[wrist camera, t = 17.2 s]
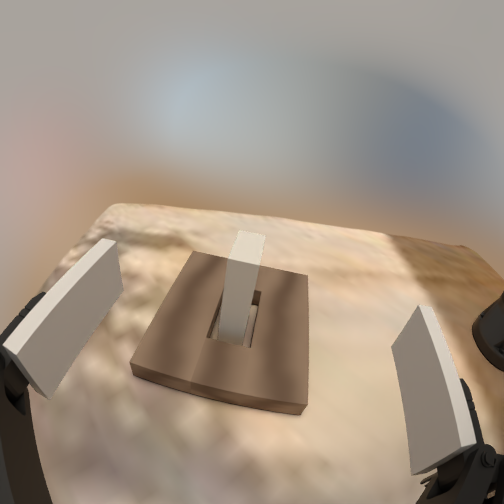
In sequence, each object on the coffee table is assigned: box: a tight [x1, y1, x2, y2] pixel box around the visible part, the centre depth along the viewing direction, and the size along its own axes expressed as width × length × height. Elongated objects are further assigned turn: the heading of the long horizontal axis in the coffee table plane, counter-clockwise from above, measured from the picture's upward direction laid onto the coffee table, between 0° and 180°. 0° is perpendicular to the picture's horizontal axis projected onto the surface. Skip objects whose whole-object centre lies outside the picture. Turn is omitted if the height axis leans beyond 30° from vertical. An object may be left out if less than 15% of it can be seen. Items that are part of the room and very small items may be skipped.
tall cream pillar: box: [217, 230, 266, 346], centre depth 32 cm, size 3×6×12 cm, turn 172°
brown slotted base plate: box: [130, 251, 309, 415], centre depth 35 cm, size 18×22×2 cm
